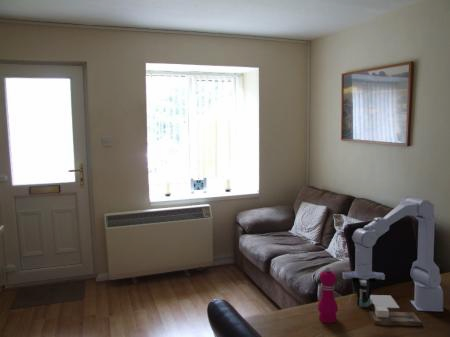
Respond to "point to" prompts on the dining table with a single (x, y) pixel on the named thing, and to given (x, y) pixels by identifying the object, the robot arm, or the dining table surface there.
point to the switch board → (396, 319)
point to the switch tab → (381, 312)
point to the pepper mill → (327, 297)
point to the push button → (363, 295)
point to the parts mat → (383, 301)
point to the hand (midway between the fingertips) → (363, 297)
